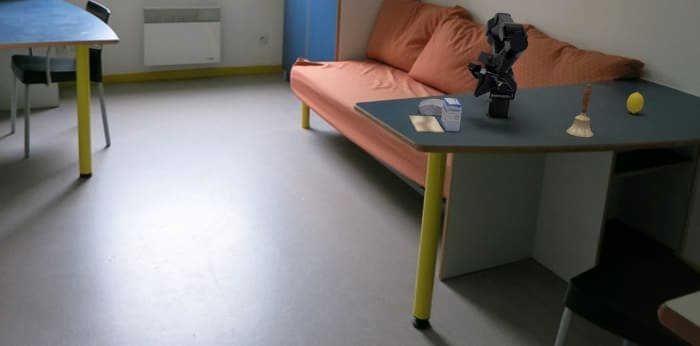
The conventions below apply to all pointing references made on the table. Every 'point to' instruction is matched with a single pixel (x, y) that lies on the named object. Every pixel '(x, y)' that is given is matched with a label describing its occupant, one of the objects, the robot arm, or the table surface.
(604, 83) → the table surface
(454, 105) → the medicine box
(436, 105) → the stone block
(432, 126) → the cork pad
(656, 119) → the table surface
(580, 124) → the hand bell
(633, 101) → the lemon
